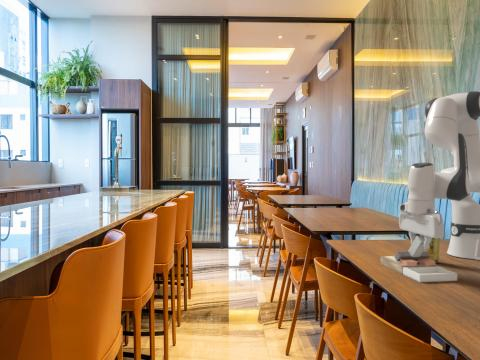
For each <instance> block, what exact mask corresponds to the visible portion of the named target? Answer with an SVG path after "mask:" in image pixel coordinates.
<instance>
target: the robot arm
mask: <svg viewBox="0 0 480 360" xmlns="http://www.w3.org/2000/svg"><path fill="white" fill-rule="evenodd" d="M424 115H425V118H426V121H425V126H424V137H425V139H426V140H427V141H428V142H429V143H430V144H432V146H435V147H436V148H437V147H438V148H441V149H444V150H447V151H450V154H451V155H452V157H453V166H452V167H448V168H443V169H442V170H440V172H437V171H435V165H434V164H433V163H431V162H416V163H412V164H411V165H410V167H409V171H408V172H409V173H408V178H407V189H408V195H407V201H406V202H403V203H402V204H399V205H398V210H399V211H400V212H399V213H398V224H399V225H398V226H399V229H400V230H403V231H405V232H408V236H409V239H410V244H411V245H412V243H413V241H414V240H415V238H416V236H417V235H419V236H423V235H424V239H425V241H424V243H422V248H425V249H429V244H430V242H431V240H432V238H440V239H443V237H444V236H445V224H444V219H443V216H442V214H441V212H440V211H439V210H437V209H436V205H435V204H436V199H437V200H449V201H450V203H451V204H450V205H451V222H450V240H449V244H448V248H447V251H446V253H447V254H448V255H449V256H453V257H456V258H457V257H458V258H463V259H470V260H476V261H477V260H478V261H480V203H479V202H477V201H476V200H474V199H473V197H472V195H471V193H477V194H478V193H480V129H479V124H478V123H479V122H478V119H479V117H480V91H477V90H475V91H469V92H458V93H453V94H452V93H451V94H450V95H444V96H442V97H439V98H438V97H435V98H432V99H431V100H429V101H428V102H427V103H426V104H425V107H424ZM435 209H436V210H435Z"/></svg>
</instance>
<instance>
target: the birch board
mask: <svg viewBox="0 0 480 360" xmlns="http://www.w3.org/2000/svg"><path fill="white" fill-rule="evenodd" d="M395 256H396V255H384V256H383V255H381V256H380V265H381V266H384V267H386V268H388V269H391V270H392V271H395V272H396V273H399V274H400V275H403V267H430V266H438V263H435V265H423V264H420V263H418V261H417V266H406V265H403V264H401V263H400V262H397V261H396V259H395Z"/></svg>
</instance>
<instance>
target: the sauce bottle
mask: <svg viewBox="0 0 480 360" xmlns="http://www.w3.org/2000/svg"><path fill="white" fill-rule="evenodd" d="M422 236H424V235H422ZM440 247H441V238H432V240H431V242H430V244H429V249H424V250H423V252H428V253H429V255H430V257H429V258H428V259H431V260H434V261H435V264H438V263H439V260H440V250H441V248H440Z"/></svg>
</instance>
